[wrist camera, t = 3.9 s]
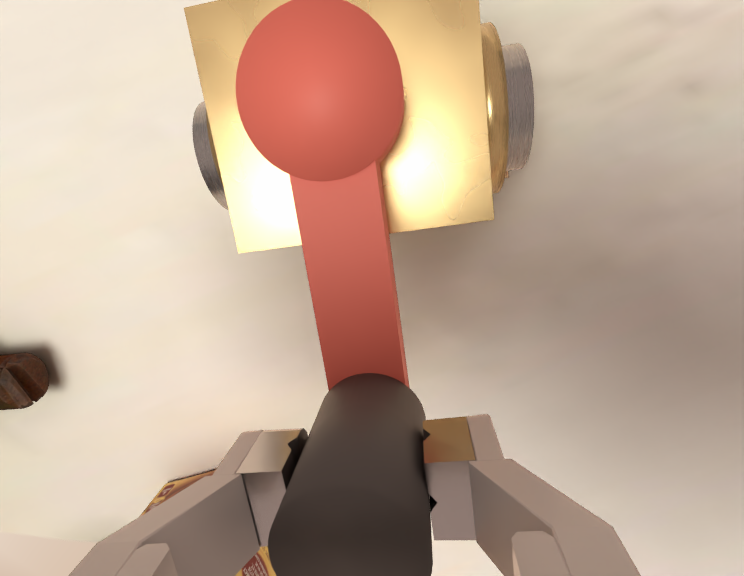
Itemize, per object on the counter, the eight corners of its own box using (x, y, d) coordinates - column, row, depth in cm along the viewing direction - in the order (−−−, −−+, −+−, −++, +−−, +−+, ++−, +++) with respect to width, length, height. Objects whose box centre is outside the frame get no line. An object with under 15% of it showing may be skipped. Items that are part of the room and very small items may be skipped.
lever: (394, 10, 9) (371, -195, 4) (443, 432, 12) (464, 619, 7) (248, 41, 10) (69, -113, 5) (325, 440, 13) (263, 621, 7)
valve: (490, 44, 19) (577, -110, 9) (501, 198, 20) (583, 213, 10) (244, 90, 20) (83, 3, 10) (272, 229, 22) (156, 269, 12)
